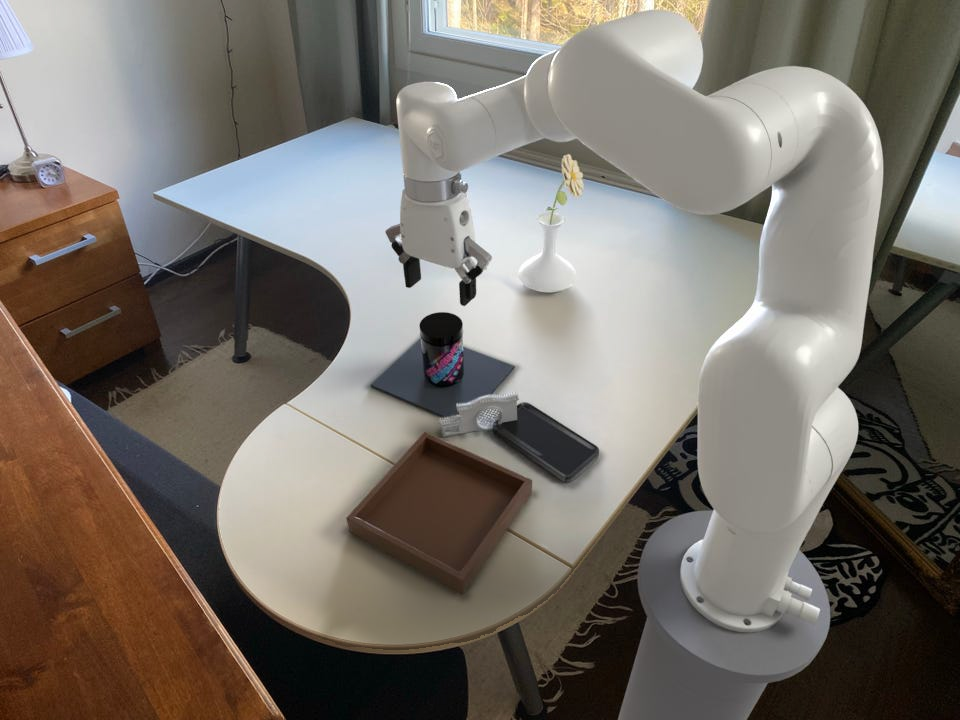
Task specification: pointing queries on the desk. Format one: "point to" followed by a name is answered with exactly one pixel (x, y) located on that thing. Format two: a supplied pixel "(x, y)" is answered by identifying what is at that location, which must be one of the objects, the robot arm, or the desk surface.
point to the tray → (441, 510)
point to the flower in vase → (553, 241)
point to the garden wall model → (472, 411)
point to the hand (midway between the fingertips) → (440, 292)
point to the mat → (415, 389)
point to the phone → (547, 442)
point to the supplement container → (442, 348)
